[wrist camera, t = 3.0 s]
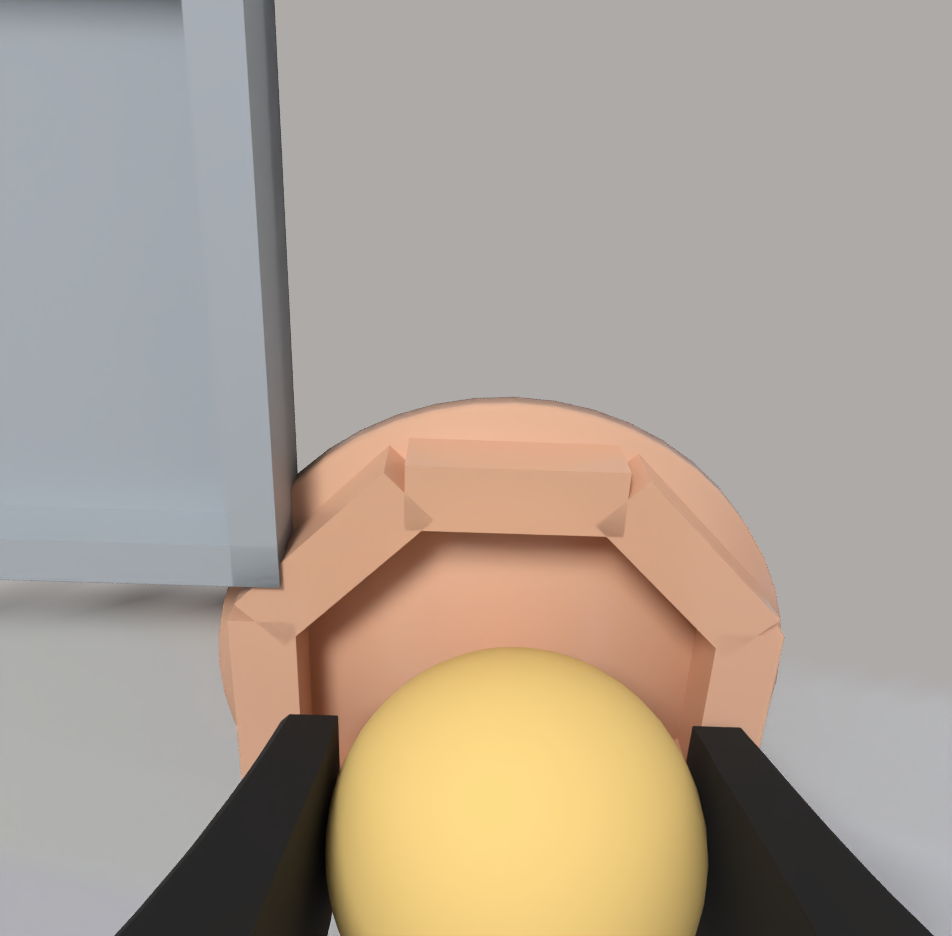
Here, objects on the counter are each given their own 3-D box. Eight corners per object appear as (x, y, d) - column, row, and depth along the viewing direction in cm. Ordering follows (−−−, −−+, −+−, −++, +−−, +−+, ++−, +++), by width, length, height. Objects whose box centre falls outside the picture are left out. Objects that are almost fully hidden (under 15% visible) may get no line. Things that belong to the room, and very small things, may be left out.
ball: (684, 583, 11) (802, 861, 7) (644, 832, 13) (719, 1166, 9) (348, 573, 11) (277, 846, 7) (354, 824, 13) (300, 1157, 9)
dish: (820, 408, 12) (863, 447, 10) (723, 854, 15) (747, 925, 14) (203, 386, 12) (170, 422, 10) (246, 843, 15) (226, 913, 14)
